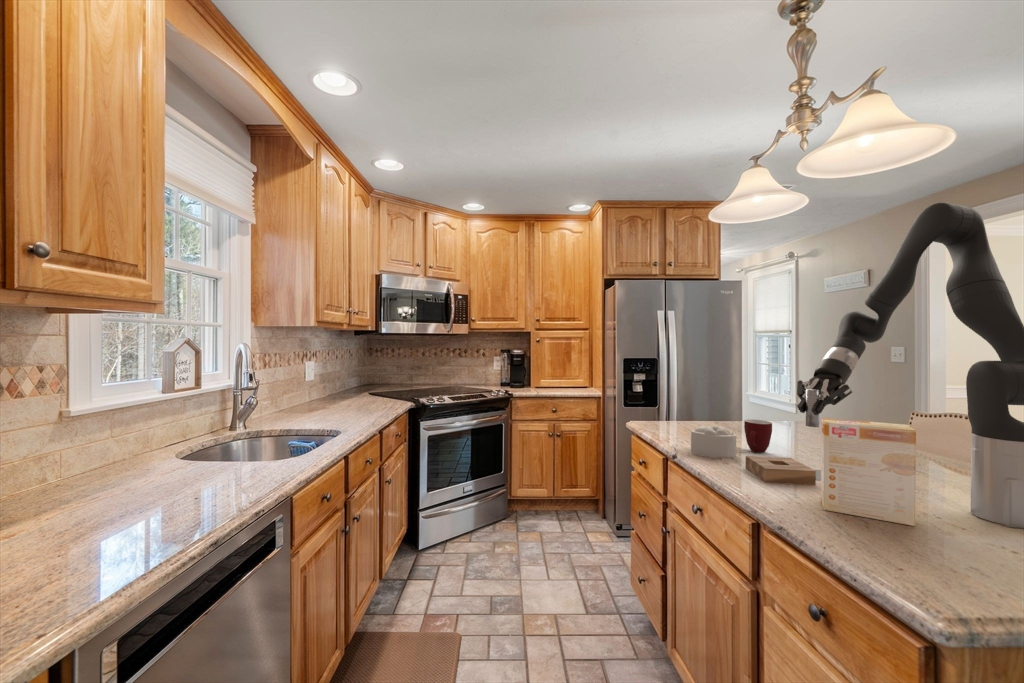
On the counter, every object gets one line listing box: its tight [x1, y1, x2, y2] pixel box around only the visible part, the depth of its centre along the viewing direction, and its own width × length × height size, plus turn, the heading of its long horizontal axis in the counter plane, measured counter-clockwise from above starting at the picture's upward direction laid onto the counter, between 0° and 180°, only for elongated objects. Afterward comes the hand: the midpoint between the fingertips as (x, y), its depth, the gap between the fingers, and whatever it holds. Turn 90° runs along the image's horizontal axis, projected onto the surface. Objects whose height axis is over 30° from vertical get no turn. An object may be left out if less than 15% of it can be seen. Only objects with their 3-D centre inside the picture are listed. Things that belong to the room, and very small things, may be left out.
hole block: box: [745, 455, 817, 486], centre depth 112 cm, size 12×12×4 cm
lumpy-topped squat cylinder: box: [690, 425, 737, 460], centre depth 136 cm, size 10×13×9 cm
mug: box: [743, 419, 773, 454], centre depth 138 cm, size 11×8×10 cm
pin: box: [805, 389, 820, 428], centre depth 114 cm, size 3×3×10 cm
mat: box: [814, 469, 821, 482], centre depth 114 cm, size 10×8×1 cm
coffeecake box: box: [820, 417, 917, 527], centre depth 90 cm, size 15×7×20 cm, turn 58°
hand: (807, 411), depth 113 cm, fingers closed on pin, 3 cm apart
